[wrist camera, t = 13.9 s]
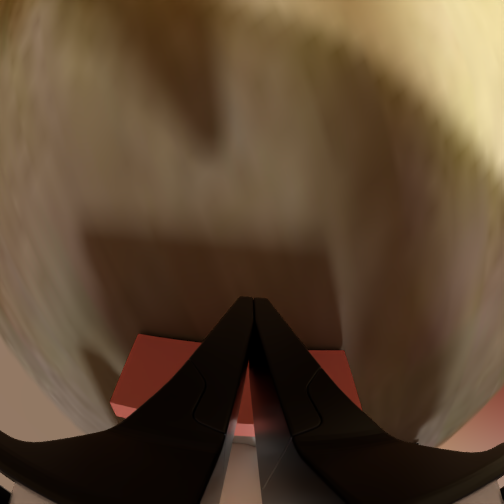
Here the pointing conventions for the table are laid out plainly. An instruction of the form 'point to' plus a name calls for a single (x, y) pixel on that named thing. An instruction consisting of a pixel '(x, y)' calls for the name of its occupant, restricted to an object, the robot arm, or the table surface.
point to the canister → (242, 476)
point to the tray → (178, 352)
